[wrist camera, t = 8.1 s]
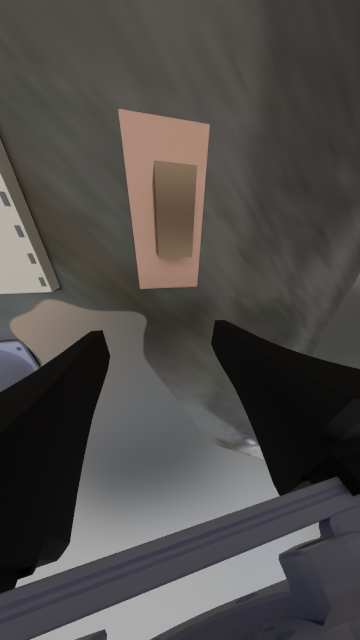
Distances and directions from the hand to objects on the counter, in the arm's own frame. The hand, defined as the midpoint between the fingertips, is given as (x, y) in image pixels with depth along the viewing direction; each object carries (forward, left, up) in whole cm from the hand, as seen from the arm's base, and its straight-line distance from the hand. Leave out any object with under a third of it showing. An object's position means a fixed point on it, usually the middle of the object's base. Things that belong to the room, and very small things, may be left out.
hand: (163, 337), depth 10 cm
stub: (+7, -2, -9) cm, 12 cm away
